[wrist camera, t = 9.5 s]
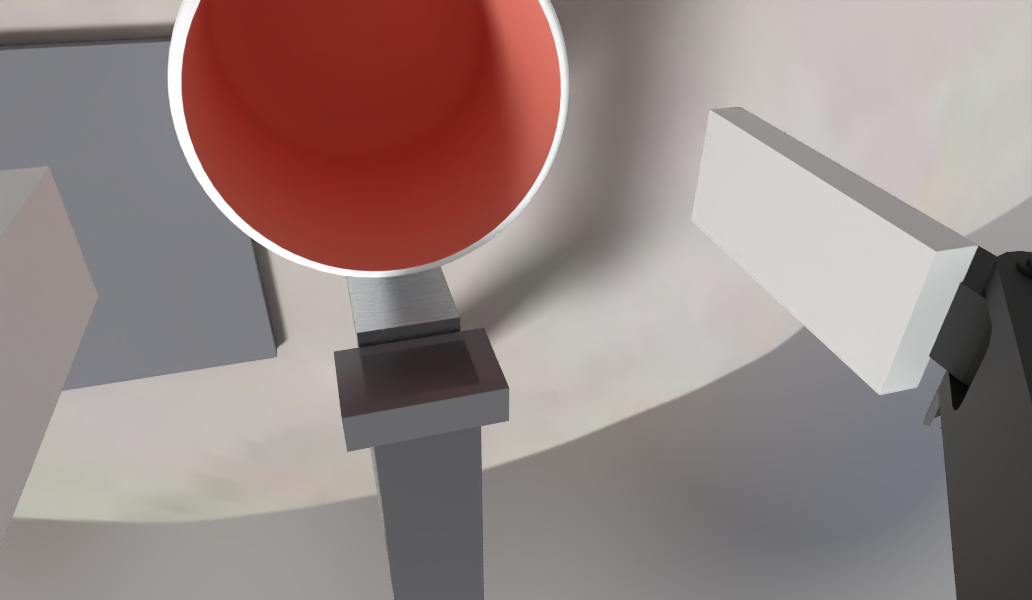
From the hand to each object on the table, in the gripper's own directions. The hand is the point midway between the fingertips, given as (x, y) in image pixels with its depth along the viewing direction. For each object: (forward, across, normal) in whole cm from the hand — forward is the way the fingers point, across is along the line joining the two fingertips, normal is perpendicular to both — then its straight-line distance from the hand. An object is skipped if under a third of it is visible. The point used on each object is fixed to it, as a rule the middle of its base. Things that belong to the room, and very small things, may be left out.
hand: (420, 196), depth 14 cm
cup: (+15, 0, 0) cm, 15 cm away
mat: (+14, -12, -7) cm, 20 cm away
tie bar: (+3, 0, -13) cm, 13 cm away
